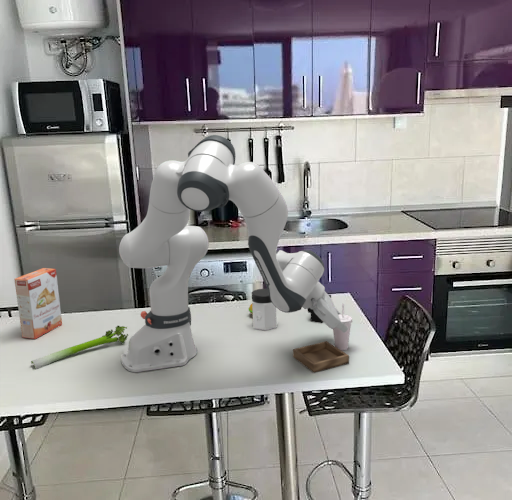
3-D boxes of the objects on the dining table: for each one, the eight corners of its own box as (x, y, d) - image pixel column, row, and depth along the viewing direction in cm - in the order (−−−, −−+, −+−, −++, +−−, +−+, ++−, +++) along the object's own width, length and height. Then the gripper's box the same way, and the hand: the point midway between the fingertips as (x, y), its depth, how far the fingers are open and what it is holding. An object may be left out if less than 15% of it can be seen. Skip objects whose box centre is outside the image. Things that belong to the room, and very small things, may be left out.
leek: (31, 369, 160) (124, 335, 177) (39, 380, 155) (134, 344, 171) (28, 352, 157) (122, 319, 174) (35, 363, 152) (131, 328, 169)
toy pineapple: (247, 319, 188) (246, 305, 186) (251, 309, 197) (250, 295, 196) (266, 319, 187) (266, 305, 186) (269, 309, 196) (269, 295, 195)
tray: (313, 372, 146) (313, 364, 146) (293, 357, 157) (292, 349, 156) (348, 363, 151) (348, 355, 150) (326, 348, 161) (326, 341, 161)
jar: (247, 328, 180) (245, 294, 177) (259, 319, 187) (257, 287, 184) (270, 332, 176) (269, 297, 173) (282, 323, 182) (281, 290, 180)
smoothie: (355, 350, 159) (356, 306, 156) (336, 353, 158) (336, 309, 154) (346, 342, 165) (346, 299, 162) (327, 345, 164) (327, 302, 160)
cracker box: (36, 340, 177) (27, 279, 172) (21, 338, 179) (12, 278, 174) (63, 324, 190) (56, 267, 185) (50, 323, 191) (42, 267, 186)
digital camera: (316, 311, 193) (316, 292, 192) (331, 313, 191) (331, 294, 189) (307, 321, 184) (306, 302, 182) (322, 323, 182) (322, 303, 180)
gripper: (321, 297, 146) (357, 329, 149) (314, 276, 166) (345, 305, 168) (305, 313, 148) (341, 345, 150) (300, 291, 167) (331, 319, 170)
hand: (343, 324), depth 159 cm, fingers open, 8 cm apart
